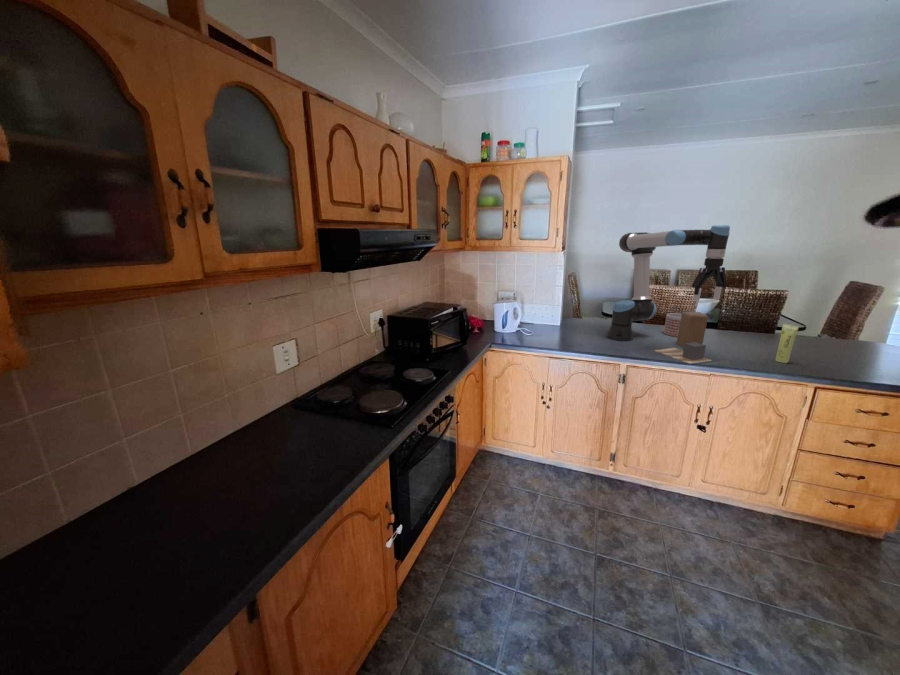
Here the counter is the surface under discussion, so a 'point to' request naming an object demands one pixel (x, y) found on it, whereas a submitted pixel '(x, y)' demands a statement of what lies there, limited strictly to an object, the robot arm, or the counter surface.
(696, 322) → the wooden block
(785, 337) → the tube
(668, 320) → the planter
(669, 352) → the board
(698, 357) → the block
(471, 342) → the counter surface
